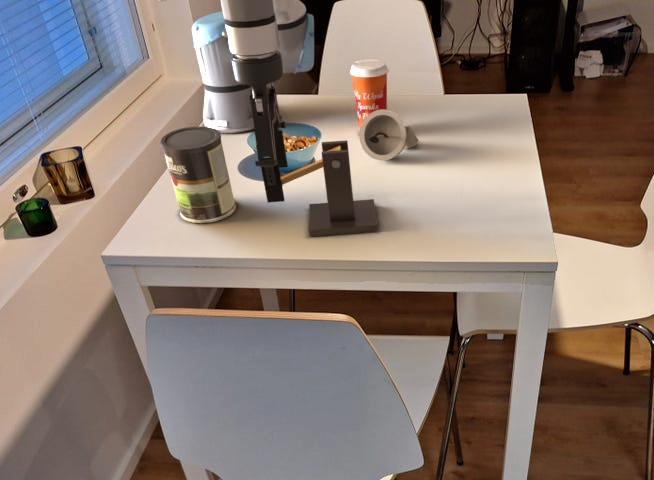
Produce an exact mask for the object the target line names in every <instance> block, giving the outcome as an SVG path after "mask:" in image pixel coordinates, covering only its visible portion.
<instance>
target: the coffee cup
mask: <svg viewBox="0 0 654 480" xmlns="http://www.w3.org/2000/svg"><path fill="white" fill-rule="evenodd" d="M389 72H390V69H389V68H388V65H387V64H386V62H385V61H383V60H381V59H376V58H367V59H366V58H365V59H360V60H356V61H355V62H353V64H352V65H351V69H350V71H349V73H350V75H351V78H352V87H353V93H354V99H355V107H356V114H357V121H358V128H359V129H360V128H361V125H362V123H363V121H364V119H365V118H366V117H367V116H368V115H369V114H370V113H372V112H374V111H376V110H381V109H385V110H388V74H389Z"/></svg>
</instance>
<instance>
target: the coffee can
mask: <svg viewBox="0 0 654 480" xmlns="http://www.w3.org/2000/svg"><path fill="white" fill-rule="evenodd" d="M159 143H160V147H161V148H162V151H163V155H164V158H165V162H166V165H167V169H168V172H169V176H170V180H171V183H172V186H173V190H174V193H175V198H176V201H177V205H178V208H179V212H180V213H179V214H180V217H181V218H182V219H183V220H184V221H186V222H188V223H193V224H209V223H215V222H219V221H221V220H224V219H226V218H229V216H231V215H233V213H234V212H235V211H236V209H237V205H236V202H235V198H234V193H233V189H232V184H231V180H230V175H229V170H228V166H227V162H226V157H225V151H224V147H223V142H222V133H220V132H219V131H218V130H216V129H214V128H210V127H205V126H188V127H182V128H179V129H175V130H173V131H170V132H168V133H166V134H164V135H163V136H162V137H161V139H160V141H159Z"/></svg>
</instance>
